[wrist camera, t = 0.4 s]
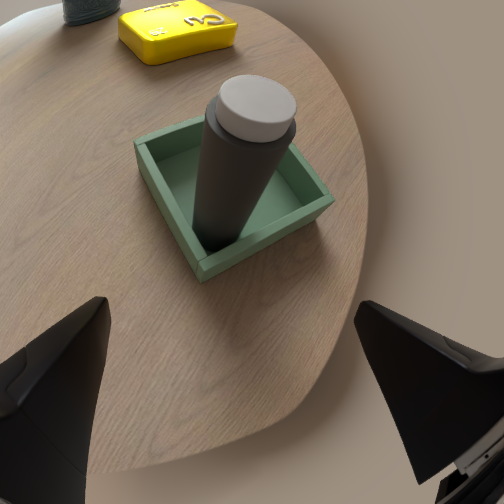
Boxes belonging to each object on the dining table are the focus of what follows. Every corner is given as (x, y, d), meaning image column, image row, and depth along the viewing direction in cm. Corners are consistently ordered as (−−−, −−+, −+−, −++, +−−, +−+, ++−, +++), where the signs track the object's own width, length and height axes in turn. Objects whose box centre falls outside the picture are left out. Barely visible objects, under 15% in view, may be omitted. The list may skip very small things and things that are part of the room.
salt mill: (248, 238, 23) (325, 120, 10) (206, 260, 22) (243, 143, 9) (224, 200, 24) (270, 65, 10) (183, 220, 22) (192, 79, 9)
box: (315, 219, 26) (336, 200, 22) (200, 284, 22) (204, 272, 18) (247, 126, 28) (256, 100, 24) (138, 167, 23) (132, 139, 20)
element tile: (192, 16, 35) (195, -4, 30) (238, 46, 33) (244, 22, 29) (115, 36, 29) (114, 13, 25) (148, 69, 28) (148, 41, 23)
